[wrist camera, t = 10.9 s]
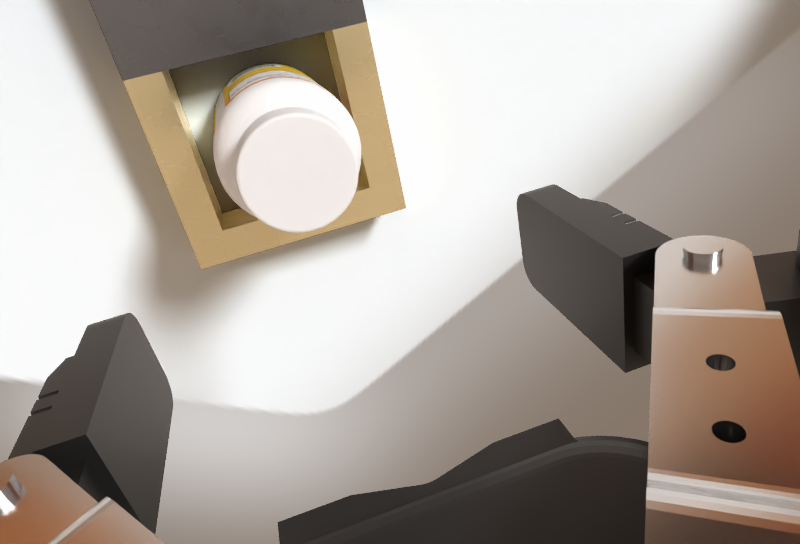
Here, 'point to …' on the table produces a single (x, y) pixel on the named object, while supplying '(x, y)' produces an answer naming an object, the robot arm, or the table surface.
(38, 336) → the table surface
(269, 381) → the table surface
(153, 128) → the rail
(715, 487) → the robot arm
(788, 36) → the table surface
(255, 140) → the supplement bottle
